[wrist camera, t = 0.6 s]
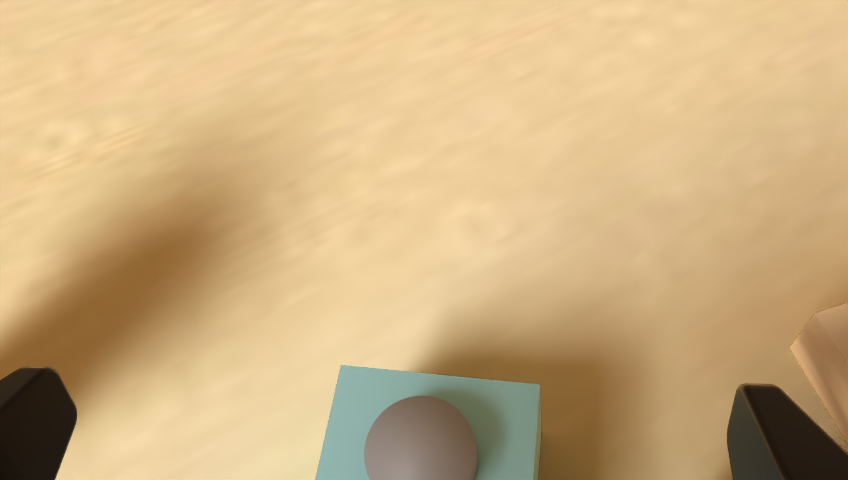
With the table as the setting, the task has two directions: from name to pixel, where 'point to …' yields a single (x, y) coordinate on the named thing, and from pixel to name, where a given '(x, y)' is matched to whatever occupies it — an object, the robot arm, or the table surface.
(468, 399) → the teal housing
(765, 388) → the robot arm
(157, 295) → the table surface
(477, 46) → the table surface
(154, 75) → the table surface
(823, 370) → the pine offcut
